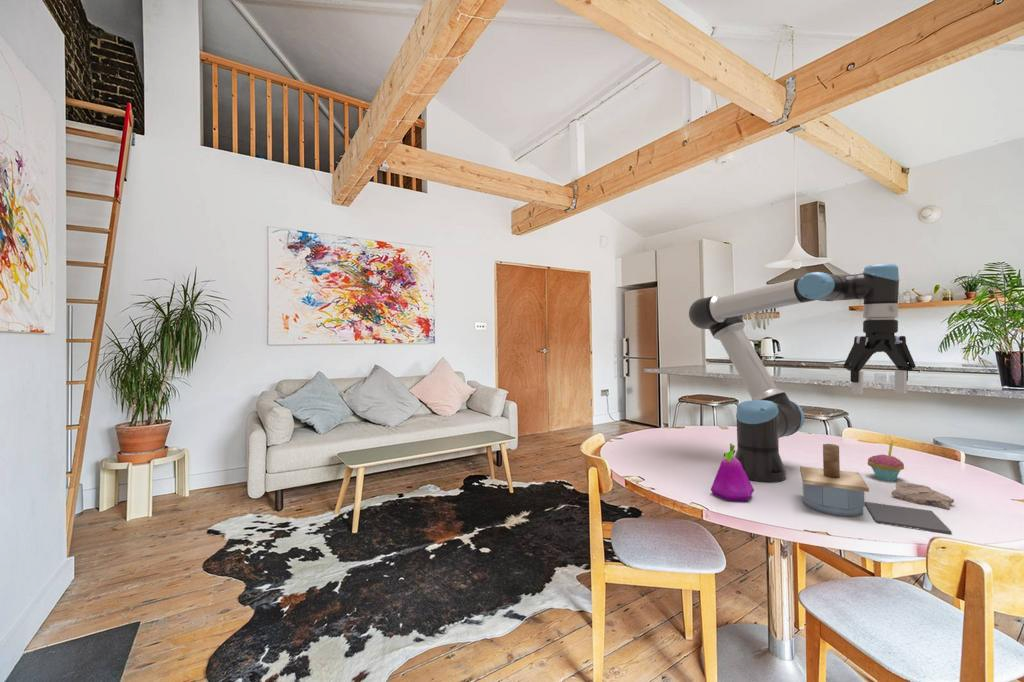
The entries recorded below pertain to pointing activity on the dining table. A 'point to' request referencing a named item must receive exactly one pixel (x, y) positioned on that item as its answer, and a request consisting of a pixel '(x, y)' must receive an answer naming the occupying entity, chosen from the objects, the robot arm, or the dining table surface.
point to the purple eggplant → (732, 480)
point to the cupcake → (886, 465)
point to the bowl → (834, 500)
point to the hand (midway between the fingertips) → (878, 393)
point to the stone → (921, 495)
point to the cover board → (834, 482)
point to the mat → (906, 517)
